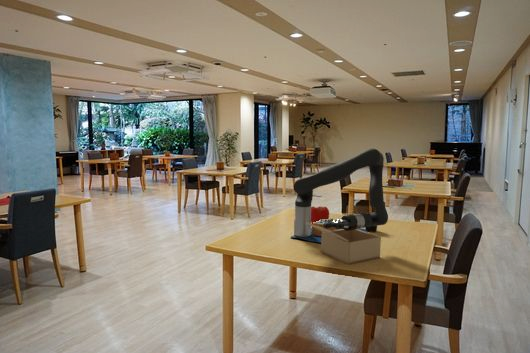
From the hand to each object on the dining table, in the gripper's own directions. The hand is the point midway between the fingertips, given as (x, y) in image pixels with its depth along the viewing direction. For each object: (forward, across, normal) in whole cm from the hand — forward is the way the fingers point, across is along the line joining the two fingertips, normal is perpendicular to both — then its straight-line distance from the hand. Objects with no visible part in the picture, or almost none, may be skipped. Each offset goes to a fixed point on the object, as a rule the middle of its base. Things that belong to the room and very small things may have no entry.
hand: (324, 226), depth 182 cm
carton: (-16, 0, +16) cm, 23 cm away
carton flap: (-7, 0, +6) cm, 9 cm away
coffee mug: (-60, -30, +17) cm, 69 cm away
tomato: (-40, -57, +17) cm, 71 cm away
